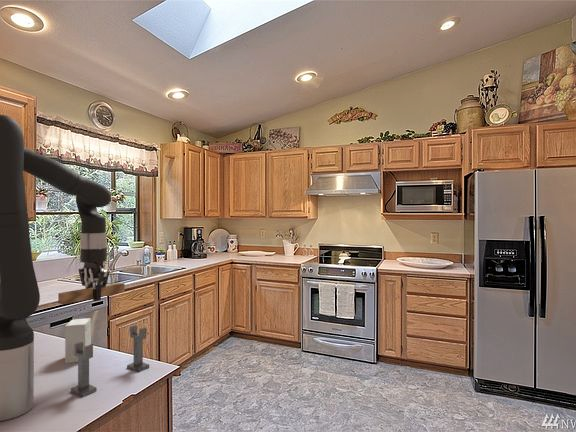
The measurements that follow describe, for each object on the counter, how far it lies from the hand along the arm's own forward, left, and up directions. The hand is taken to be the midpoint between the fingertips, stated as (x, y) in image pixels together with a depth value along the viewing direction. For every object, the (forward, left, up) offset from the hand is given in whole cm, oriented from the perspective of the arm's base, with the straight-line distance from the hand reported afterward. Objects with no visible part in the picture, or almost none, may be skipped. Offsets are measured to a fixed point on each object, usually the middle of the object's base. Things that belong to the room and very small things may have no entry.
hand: (93, 299), depth 112 cm
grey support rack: (0, -10, -23) cm, 25 cm away
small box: (+4, +16, -24) cm, 29 cm away
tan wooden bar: (0, 0, +1) cm, 1 cm away
